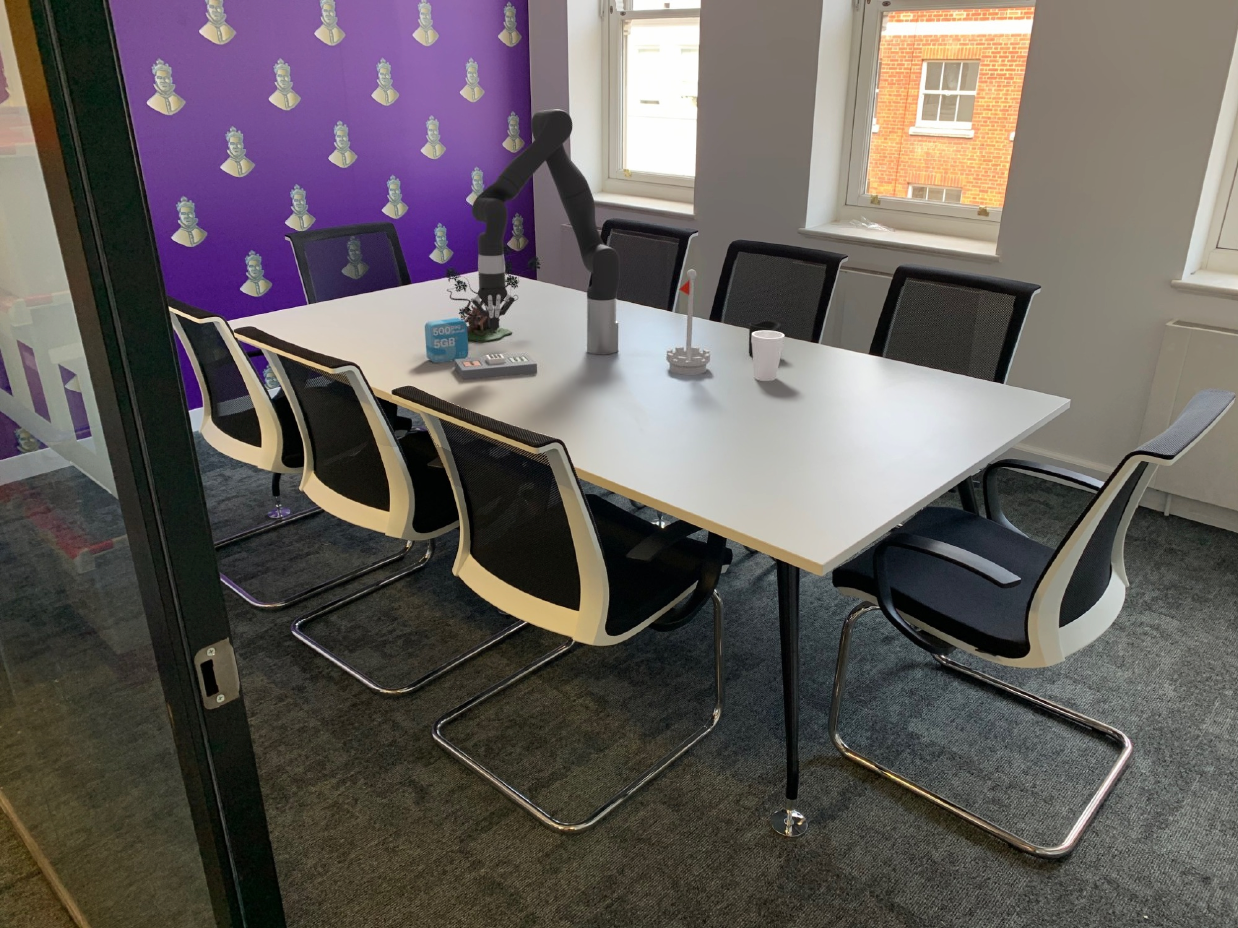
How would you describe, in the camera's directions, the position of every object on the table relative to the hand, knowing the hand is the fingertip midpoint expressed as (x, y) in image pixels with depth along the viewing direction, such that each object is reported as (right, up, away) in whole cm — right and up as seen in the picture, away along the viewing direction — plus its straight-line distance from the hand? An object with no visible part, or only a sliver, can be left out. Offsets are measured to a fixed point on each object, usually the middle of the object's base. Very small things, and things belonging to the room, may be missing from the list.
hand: (493, 329), depth 275 cm
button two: (+6, -11, +7) cm, 14 cm away
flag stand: (+57, -11, +9) cm, 59 cm away
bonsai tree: (-5, +4, +43) cm, 43 cm away
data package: (-16, -7, +16) cm, 24 cm away
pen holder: (+82, -5, +24) cm, 85 cm away
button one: (-7, -12, +2) cm, 14 cm away
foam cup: (+79, -14, +2) cm, 80 cm away
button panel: (0, -12, +5) cm, 13 cm away
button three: (0, -10, +4) cm, 11 cm away
